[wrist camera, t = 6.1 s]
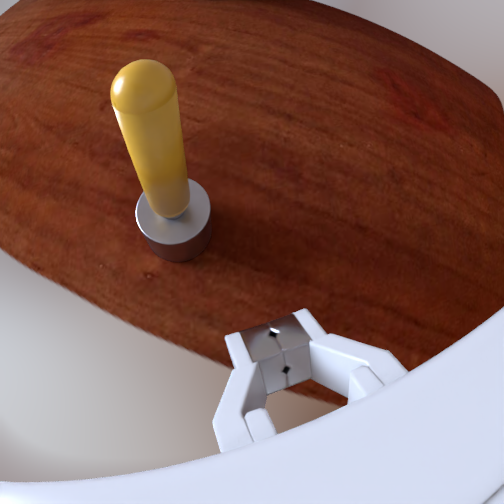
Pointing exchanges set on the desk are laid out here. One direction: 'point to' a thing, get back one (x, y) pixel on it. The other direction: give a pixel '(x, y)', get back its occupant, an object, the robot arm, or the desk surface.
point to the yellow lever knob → (160, 162)
